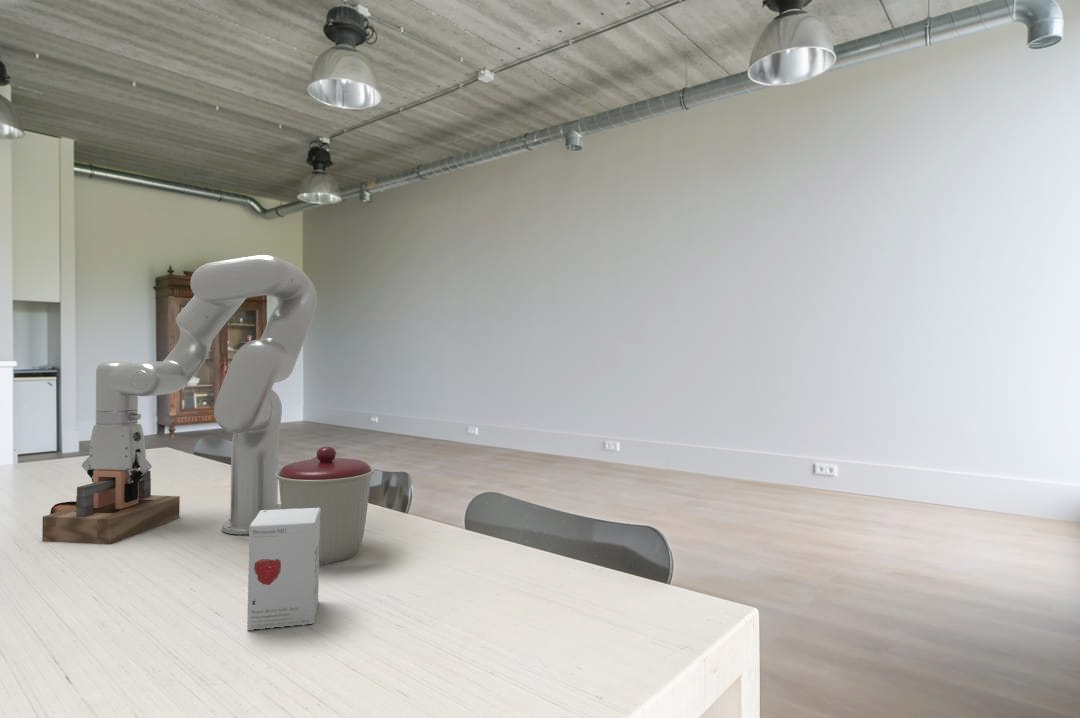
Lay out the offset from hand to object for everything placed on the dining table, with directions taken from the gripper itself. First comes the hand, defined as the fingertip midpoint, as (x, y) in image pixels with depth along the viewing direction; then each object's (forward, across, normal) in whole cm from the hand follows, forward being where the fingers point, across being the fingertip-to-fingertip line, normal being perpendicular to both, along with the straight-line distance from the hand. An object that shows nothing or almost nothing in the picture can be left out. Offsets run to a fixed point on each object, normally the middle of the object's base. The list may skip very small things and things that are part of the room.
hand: (116, 499), depth 131 cm
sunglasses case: (+7, +12, -10) cm, 17 cm away
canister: (+7, -53, +11) cm, 54 cm away
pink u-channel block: (+1, 0, 0) cm, 1 cm away
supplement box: (+7, -59, +37) cm, 70 cm away
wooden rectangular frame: (+6, 0, 0) cm, 6 cm away
